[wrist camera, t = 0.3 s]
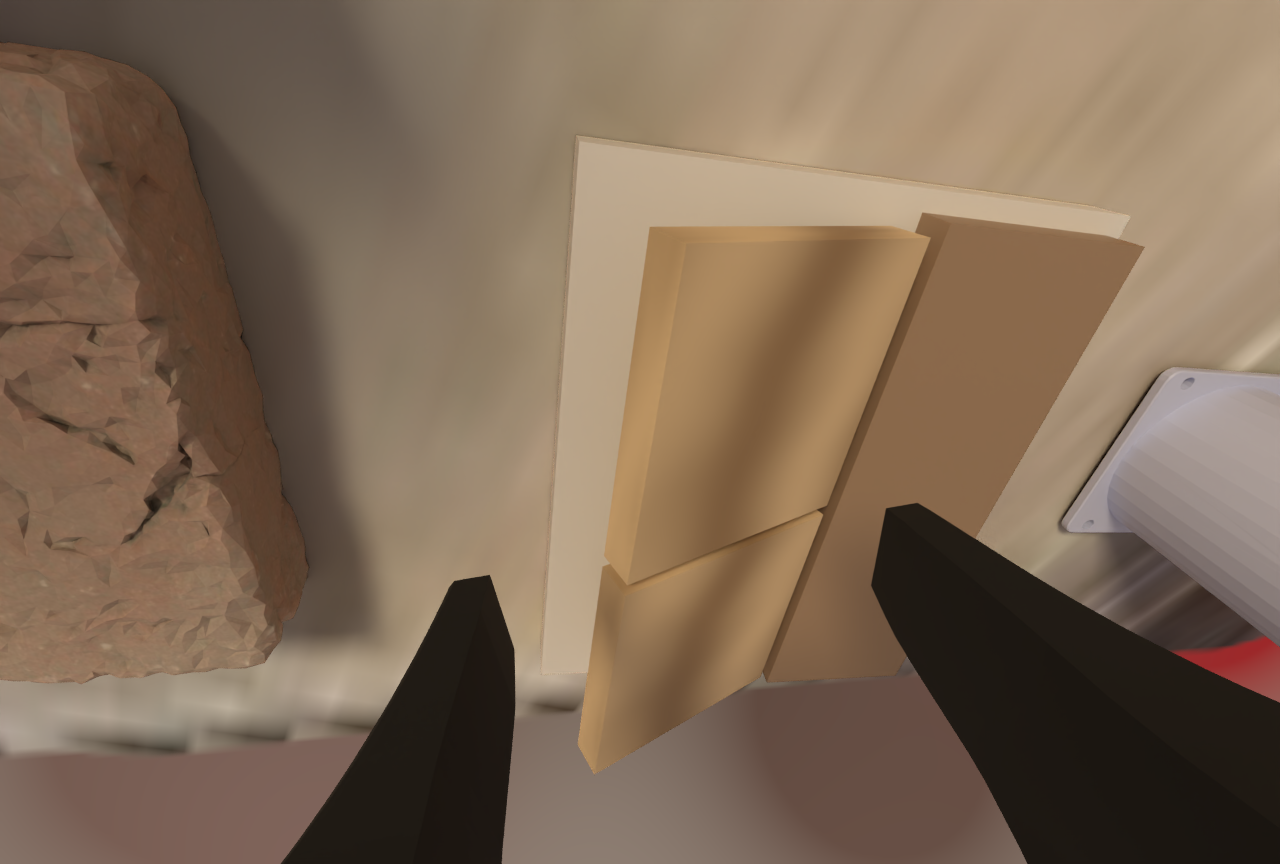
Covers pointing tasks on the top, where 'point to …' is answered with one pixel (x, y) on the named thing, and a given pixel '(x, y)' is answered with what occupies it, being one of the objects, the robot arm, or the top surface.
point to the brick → (125, 396)
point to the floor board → (899, 401)
